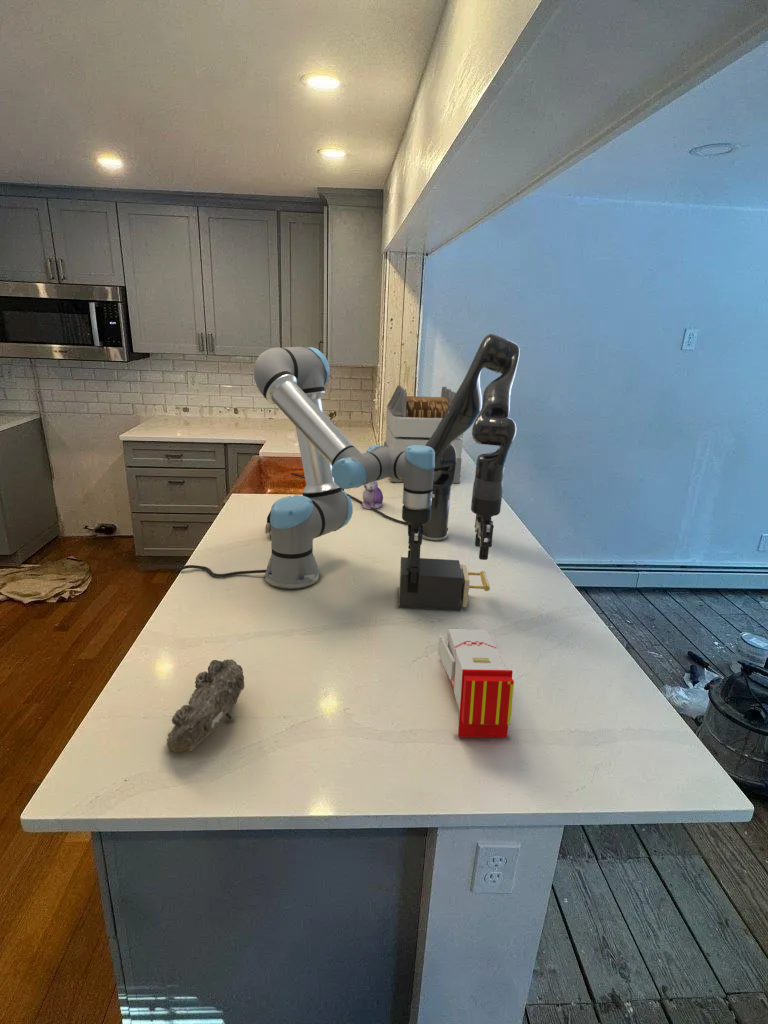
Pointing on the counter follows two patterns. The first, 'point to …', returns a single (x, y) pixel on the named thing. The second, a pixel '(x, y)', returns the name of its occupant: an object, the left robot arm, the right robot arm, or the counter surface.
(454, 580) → the cabinet
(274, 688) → the counter surface
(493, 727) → the toy
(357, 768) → the counter surface
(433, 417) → the transformer
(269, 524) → the figurine character
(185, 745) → the fossil
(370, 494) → the figurine
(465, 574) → the drawer
